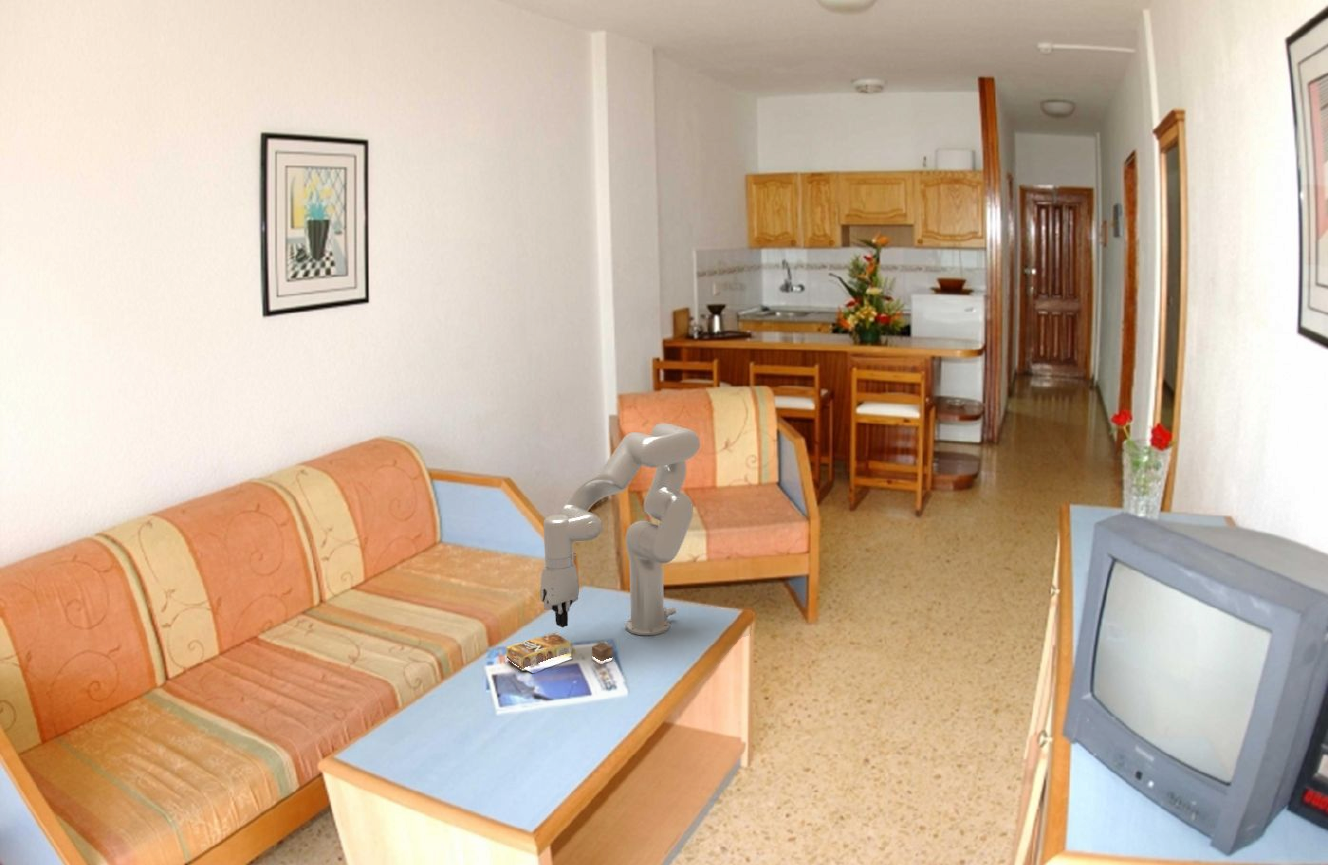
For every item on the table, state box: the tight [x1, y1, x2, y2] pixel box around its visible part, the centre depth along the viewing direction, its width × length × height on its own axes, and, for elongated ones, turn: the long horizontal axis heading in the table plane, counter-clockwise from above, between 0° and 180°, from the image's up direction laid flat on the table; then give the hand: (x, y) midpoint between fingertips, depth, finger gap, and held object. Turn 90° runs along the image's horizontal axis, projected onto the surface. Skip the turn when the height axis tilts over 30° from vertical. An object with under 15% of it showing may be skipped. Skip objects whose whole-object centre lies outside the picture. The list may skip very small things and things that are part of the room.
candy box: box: [505, 632, 572, 669], centre depth 271 cm, size 9×4×15 cm
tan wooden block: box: [591, 641, 614, 661], centre depth 271 cm, size 4×4×4 cm
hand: (562, 625), depth 274 cm, fingers closed
